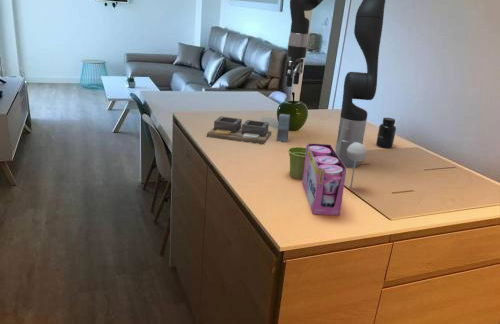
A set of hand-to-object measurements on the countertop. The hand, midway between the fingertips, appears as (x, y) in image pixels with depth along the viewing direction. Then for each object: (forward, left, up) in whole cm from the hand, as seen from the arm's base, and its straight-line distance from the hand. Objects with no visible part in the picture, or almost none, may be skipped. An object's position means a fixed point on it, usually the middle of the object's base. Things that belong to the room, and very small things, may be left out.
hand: (292, 85), depth 183 cm
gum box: (-59, -19, -23) cm, 66 cm away
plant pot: (-43, -11, -23) cm, 50 cm away
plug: (-5, +1, -23) cm, 23 cm away
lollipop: (-47, -28, -23) cm, 59 cm away
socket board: (-6, +19, -23) cm, 30 cm away
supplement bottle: (+7, -41, -23) cm, 47 cm away
